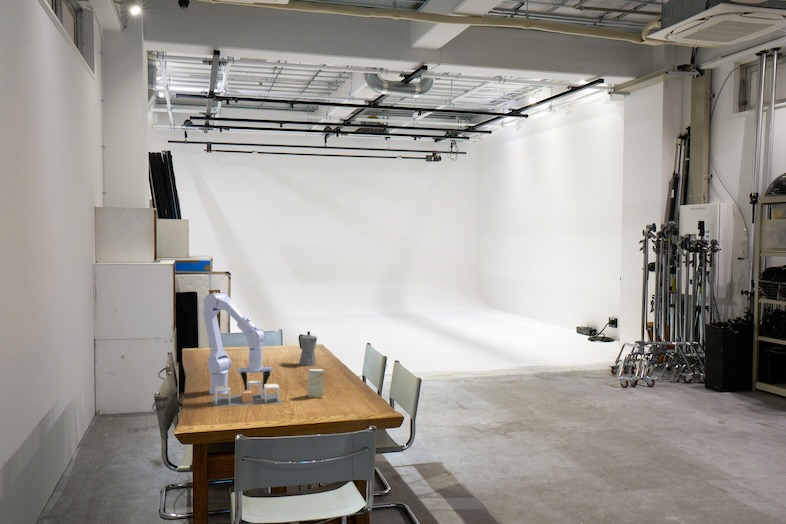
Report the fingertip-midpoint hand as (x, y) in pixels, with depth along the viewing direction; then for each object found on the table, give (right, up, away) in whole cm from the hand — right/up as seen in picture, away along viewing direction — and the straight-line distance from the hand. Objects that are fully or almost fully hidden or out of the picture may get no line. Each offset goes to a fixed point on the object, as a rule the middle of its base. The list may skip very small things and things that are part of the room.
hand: (254, 389), depth 285 cm
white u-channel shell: (0, -3, 0) cm, 3 cm away
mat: (-2, -4, -5) cm, 7 cm away
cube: (-2, -4, -8) cm, 9 cm away
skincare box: (+25, -5, +6) cm, 26 cm away
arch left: (-11, -3, -11) cm, 16 cm away
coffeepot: (+12, -1, +77) cm, 78 cm away
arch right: (+8, -4, -4) cm, 10 cm away
